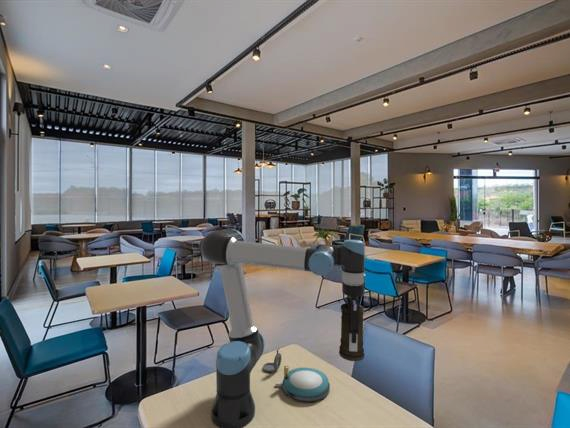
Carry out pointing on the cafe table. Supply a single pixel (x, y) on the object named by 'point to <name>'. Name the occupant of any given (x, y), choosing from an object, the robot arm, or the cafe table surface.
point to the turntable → (305, 382)
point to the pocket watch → (273, 366)
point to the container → (344, 339)
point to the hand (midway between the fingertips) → (351, 345)
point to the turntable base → (303, 399)
